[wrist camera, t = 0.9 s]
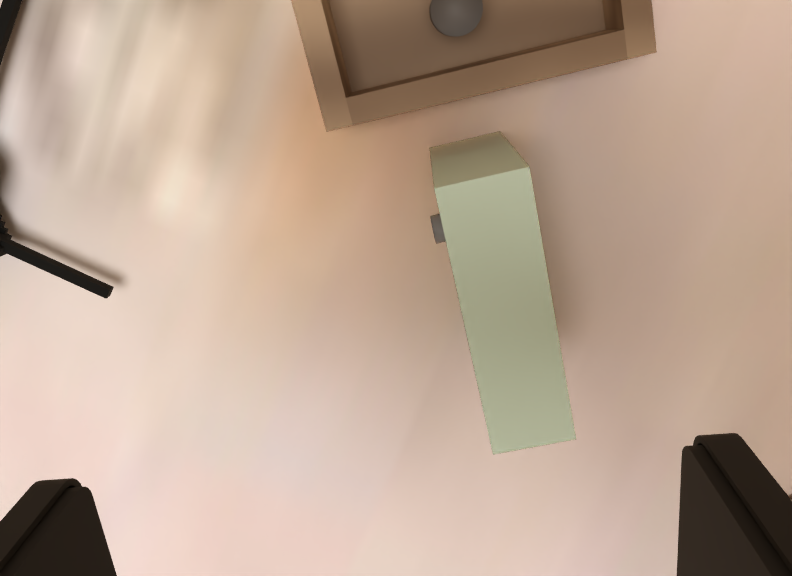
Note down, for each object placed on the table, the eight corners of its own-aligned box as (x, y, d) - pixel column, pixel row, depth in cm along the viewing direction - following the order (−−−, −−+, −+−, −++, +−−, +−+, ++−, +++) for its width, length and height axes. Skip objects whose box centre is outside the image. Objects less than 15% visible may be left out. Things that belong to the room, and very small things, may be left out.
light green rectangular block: (538, 343, 32) (576, 439, 25) (466, 358, 32) (482, 456, 25) (499, 131, 29) (529, 166, 21) (420, 149, 29) (421, 191, 22)
